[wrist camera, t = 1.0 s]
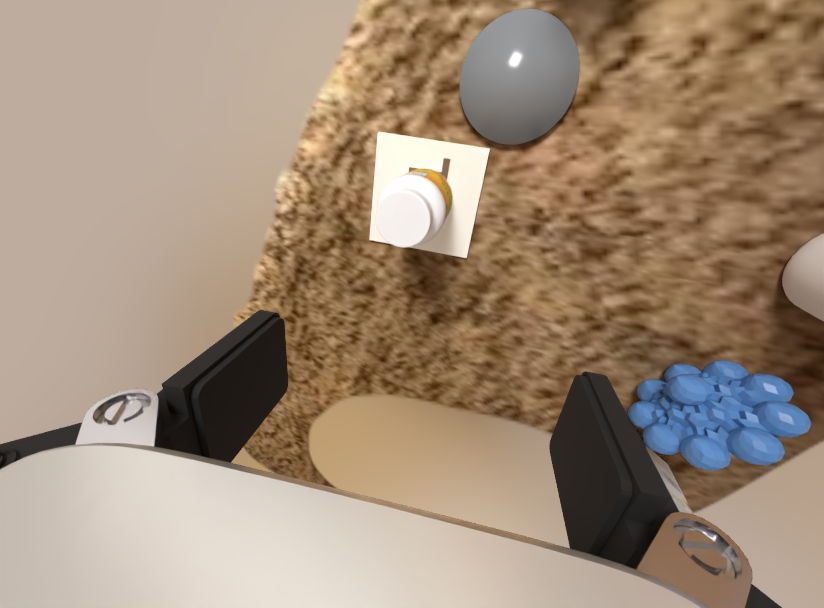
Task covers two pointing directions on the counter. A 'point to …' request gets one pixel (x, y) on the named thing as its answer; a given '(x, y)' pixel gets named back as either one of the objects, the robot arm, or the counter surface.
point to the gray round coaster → (519, 76)
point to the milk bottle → (806, 277)
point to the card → (451, 161)
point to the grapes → (717, 415)
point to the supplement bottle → (413, 208)
